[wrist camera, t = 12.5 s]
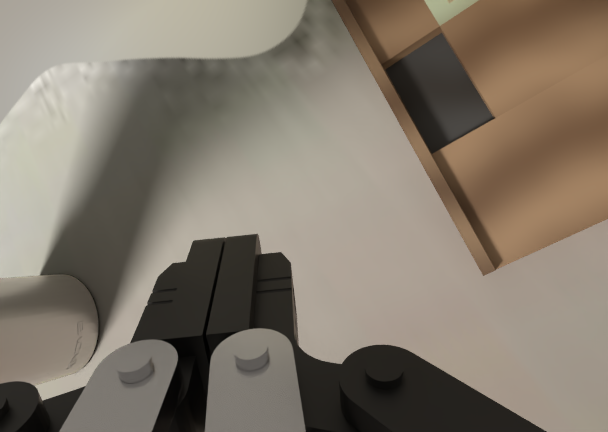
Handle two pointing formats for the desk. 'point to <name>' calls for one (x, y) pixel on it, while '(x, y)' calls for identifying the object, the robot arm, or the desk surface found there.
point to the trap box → (498, 111)
